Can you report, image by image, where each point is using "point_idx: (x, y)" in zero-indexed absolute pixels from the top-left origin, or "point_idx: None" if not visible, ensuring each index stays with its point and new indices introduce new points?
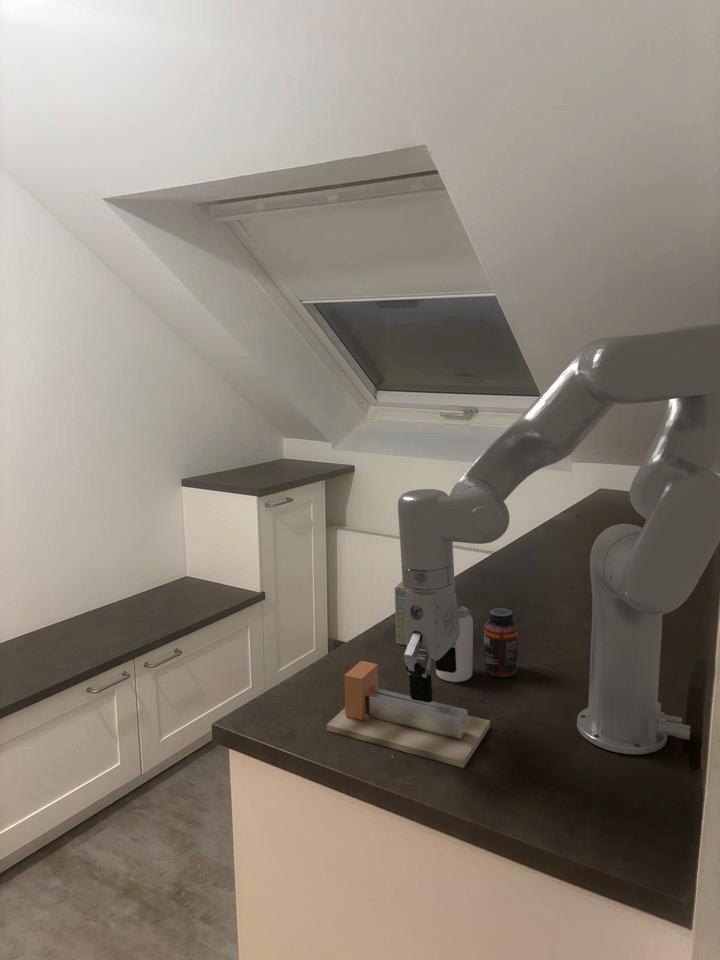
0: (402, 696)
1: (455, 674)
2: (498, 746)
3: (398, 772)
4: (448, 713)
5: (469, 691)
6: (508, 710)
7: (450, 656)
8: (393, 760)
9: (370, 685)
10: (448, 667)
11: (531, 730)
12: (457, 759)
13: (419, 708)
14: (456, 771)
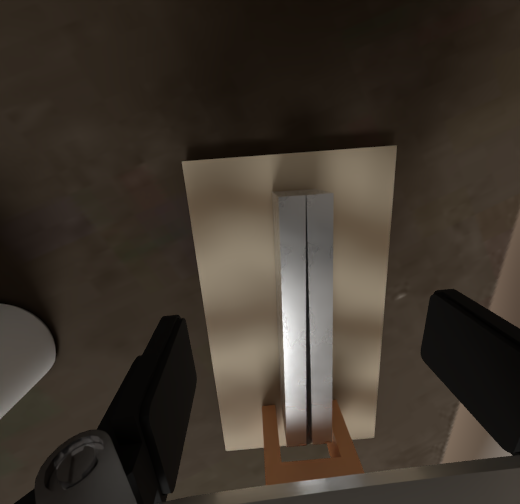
0: (296, 383)
1: (28, 335)
2: (261, 104)
3: (449, 261)
4: (328, 239)
5: (59, 277)
6: (77, 149)
7: (165, 387)
8: (413, 288)
9: (311, 467)
10: (184, 350)
11: (135, 45)
12: (393, 163)
13: (331, 321)
14: (405, 157)
